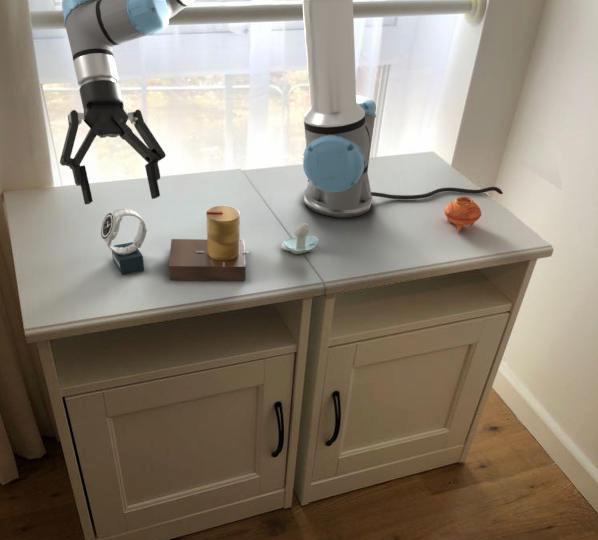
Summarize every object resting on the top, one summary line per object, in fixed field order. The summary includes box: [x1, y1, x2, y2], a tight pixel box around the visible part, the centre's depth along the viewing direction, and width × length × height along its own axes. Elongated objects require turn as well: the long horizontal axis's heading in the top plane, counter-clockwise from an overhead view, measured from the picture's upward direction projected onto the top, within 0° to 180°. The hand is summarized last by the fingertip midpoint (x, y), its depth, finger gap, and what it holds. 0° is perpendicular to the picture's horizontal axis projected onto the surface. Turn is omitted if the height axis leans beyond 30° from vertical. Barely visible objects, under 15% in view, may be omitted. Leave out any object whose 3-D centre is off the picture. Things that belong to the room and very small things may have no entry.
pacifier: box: [280, 222, 319, 255], centre depth 132 cm, size 7×6×6 cm
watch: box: [100, 208, 148, 276], centre depth 122 cm, size 6×8×11 cm
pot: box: [443, 196, 482, 233], centre depth 144 cm, size 8×8×7 cm
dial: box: [206, 205, 241, 261], centre depth 122 cm, size 6×6×8 cm
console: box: [168, 238, 251, 282], centre depth 126 cm, size 15×10×3 cm
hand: (123, 200), depth 128 cm, fingers open, 13 cm apart
